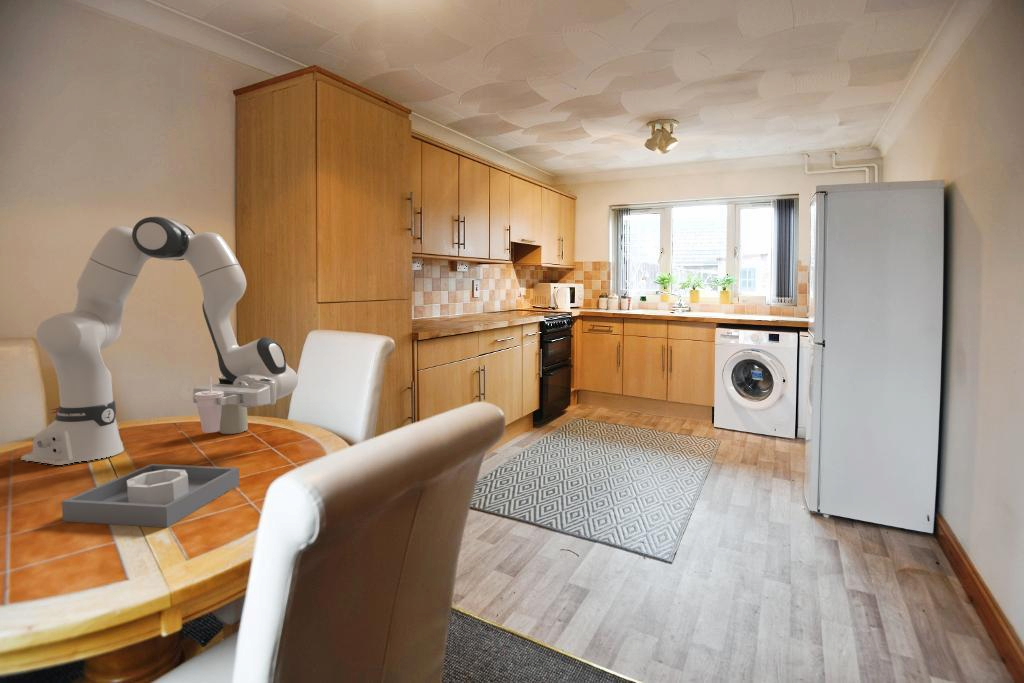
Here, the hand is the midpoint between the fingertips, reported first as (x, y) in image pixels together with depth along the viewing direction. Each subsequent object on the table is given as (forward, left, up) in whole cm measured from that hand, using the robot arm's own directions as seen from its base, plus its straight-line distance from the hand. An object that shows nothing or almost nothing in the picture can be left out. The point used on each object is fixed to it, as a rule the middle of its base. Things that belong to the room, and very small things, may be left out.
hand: (206, 400), depth 128 cm
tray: (+2, -19, -18) cm, 26 cm away
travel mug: (-17, +34, -18) cm, 42 cm away
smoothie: (0, +1, -8) cm, 8 cm away
